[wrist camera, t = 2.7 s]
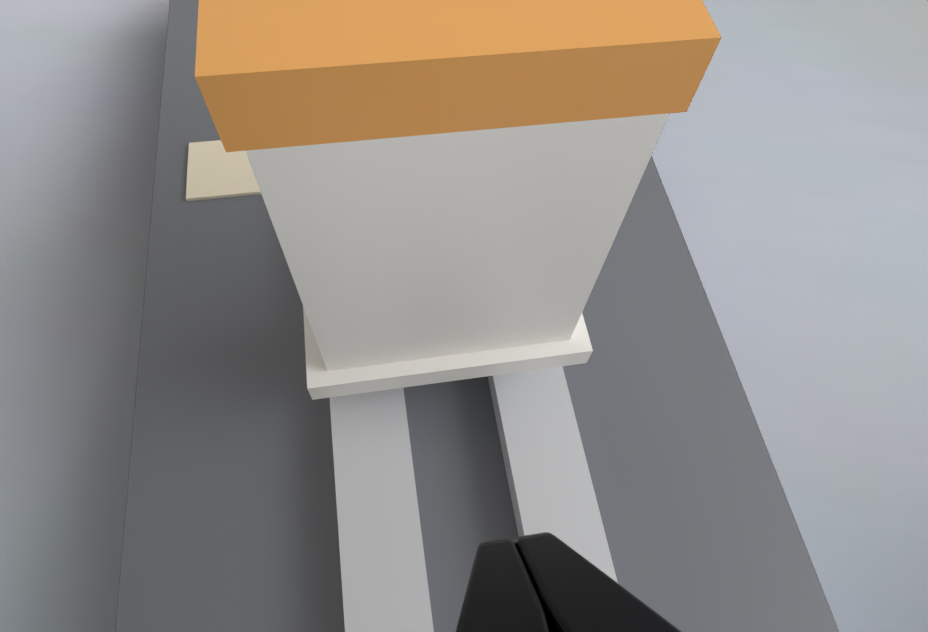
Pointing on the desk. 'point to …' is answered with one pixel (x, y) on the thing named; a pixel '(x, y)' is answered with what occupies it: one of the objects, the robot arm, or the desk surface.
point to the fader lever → (446, 166)
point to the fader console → (427, 437)
